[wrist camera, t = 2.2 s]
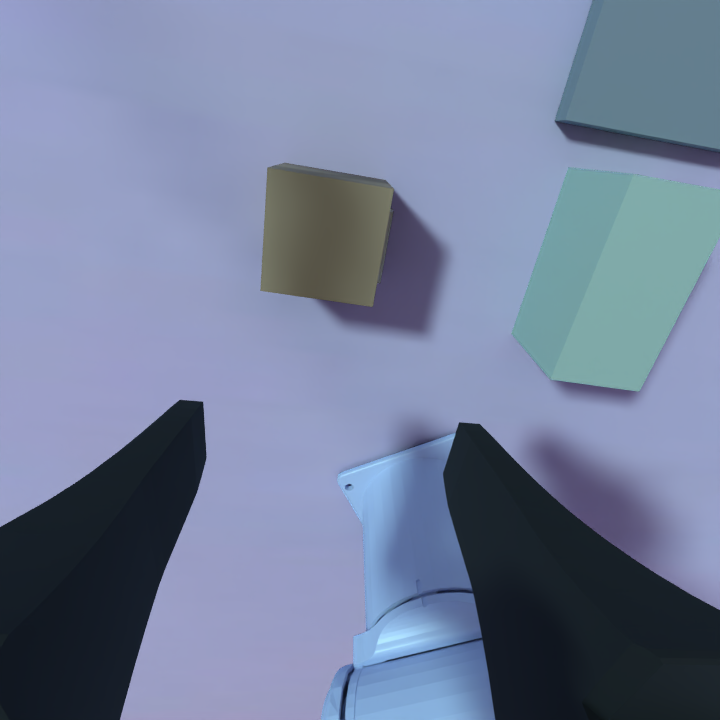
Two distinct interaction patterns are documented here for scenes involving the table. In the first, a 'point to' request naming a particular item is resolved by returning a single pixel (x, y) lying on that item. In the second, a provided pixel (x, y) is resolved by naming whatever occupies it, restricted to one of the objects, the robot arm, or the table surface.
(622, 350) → the tall sage green block
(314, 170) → the plain olive brown cube
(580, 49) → the rubber mat
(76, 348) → the table surface
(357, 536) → the table surface
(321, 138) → the table surface
